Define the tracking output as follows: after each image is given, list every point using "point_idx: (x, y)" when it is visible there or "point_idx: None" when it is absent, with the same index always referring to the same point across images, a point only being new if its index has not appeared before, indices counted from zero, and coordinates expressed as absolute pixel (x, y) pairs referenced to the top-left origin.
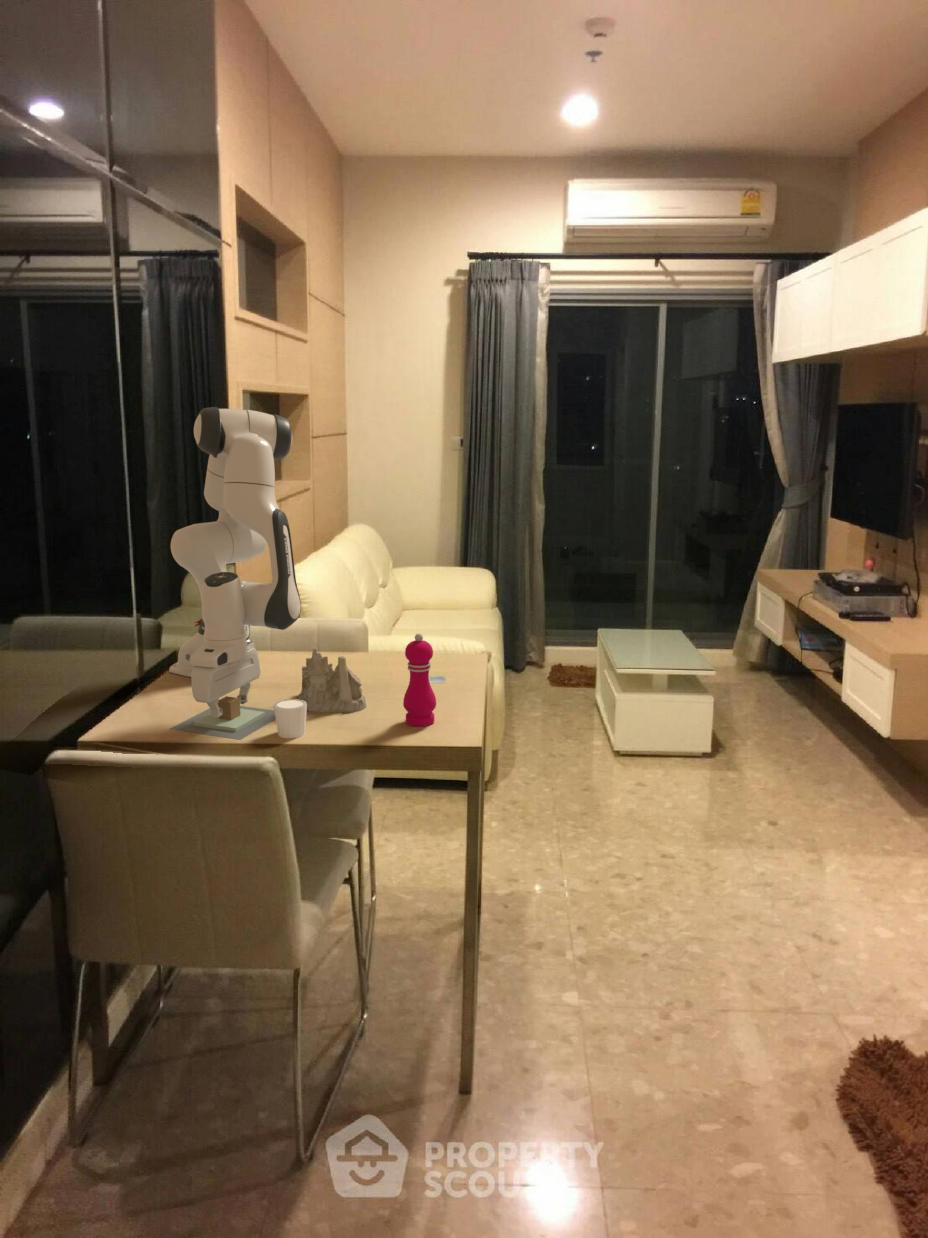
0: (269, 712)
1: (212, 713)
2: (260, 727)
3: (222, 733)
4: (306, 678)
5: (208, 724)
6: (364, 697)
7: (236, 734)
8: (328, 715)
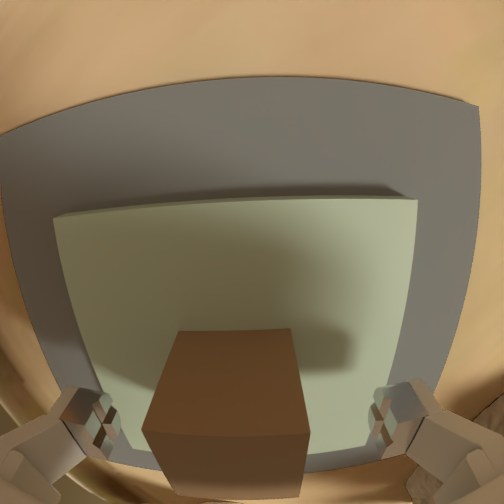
0: None
1: (62, 402)
2: None
3: None
4: None
5: (81, 330)
6: None
7: (121, 443)
8: (394, 496)
